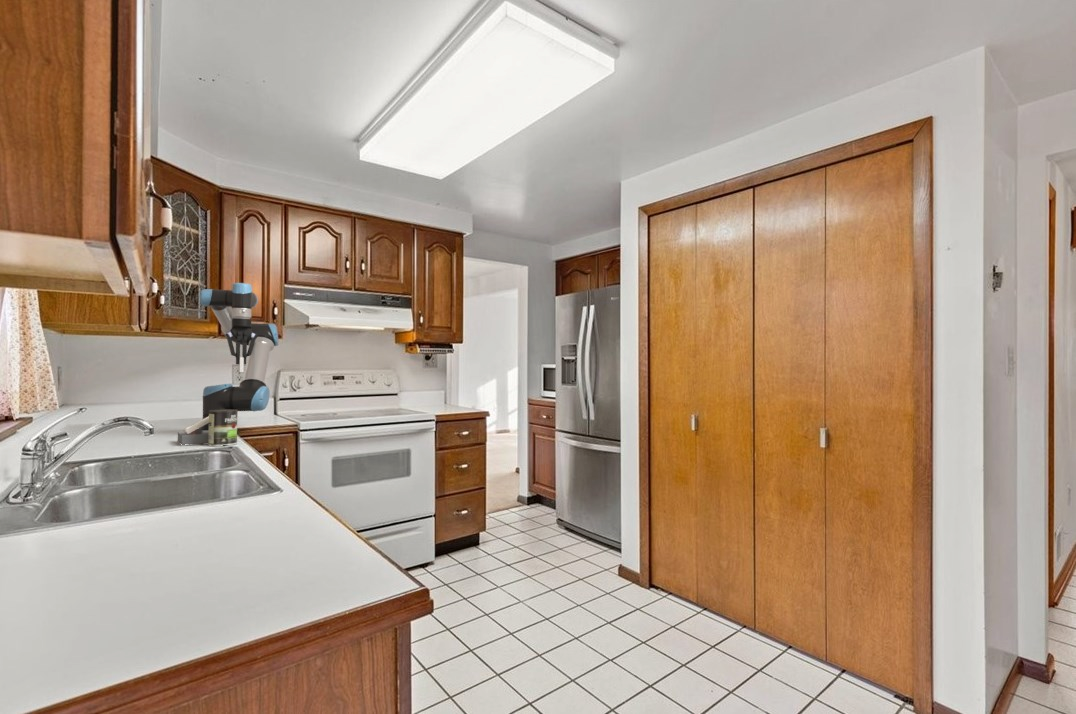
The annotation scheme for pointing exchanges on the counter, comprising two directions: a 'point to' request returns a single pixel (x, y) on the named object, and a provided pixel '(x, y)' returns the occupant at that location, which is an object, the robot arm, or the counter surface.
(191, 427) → the bar
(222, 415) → the coffee can
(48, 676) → the counter surface
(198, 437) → the box
